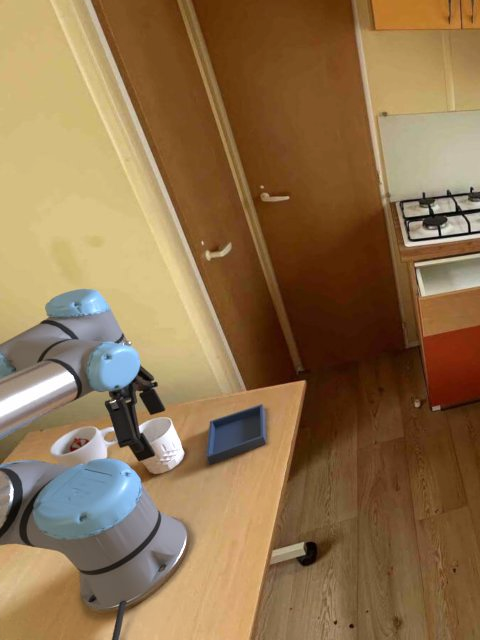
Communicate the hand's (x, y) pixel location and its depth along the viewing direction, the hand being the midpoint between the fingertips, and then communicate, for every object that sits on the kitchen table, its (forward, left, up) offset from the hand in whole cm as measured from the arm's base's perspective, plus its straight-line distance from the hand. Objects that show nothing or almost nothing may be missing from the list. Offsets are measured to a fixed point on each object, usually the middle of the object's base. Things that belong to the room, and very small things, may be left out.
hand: (153, 433), depth 93 cm
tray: (0, -14, -9) cm, 17 cm away
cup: (+8, +14, -9) cm, 19 cm away
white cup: (0, 0, -9) cm, 9 cm away
